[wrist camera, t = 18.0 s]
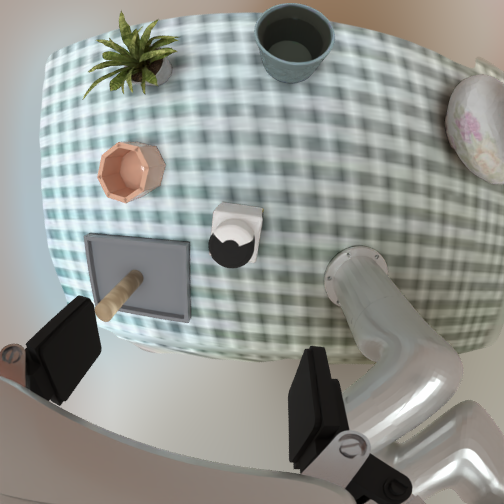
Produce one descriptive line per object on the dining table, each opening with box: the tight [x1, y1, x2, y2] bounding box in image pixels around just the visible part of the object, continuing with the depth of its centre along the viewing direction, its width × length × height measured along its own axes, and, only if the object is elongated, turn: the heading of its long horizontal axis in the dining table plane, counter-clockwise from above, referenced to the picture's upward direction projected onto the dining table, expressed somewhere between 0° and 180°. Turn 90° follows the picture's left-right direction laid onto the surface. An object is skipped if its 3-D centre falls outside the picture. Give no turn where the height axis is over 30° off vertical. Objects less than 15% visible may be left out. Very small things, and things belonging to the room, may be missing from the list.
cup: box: [97, 142, 166, 203], centre depth 41 cm, size 9×9×7 cm
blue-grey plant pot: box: [254, 3, 335, 83], centre depth 31 cm, size 10×10×12 cm
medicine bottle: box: [209, 202, 263, 268], centre depth 41 cm, size 7×7×12 cm
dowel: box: [95, 270, 143, 322], centre depth 44 cm, size 3×3×14 cm
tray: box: [84, 233, 191, 323], centre depth 50 cm, size 22×16×2 cm
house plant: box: [83, 11, 179, 99], centre depth 31 cm, size 14×14×16 cm
